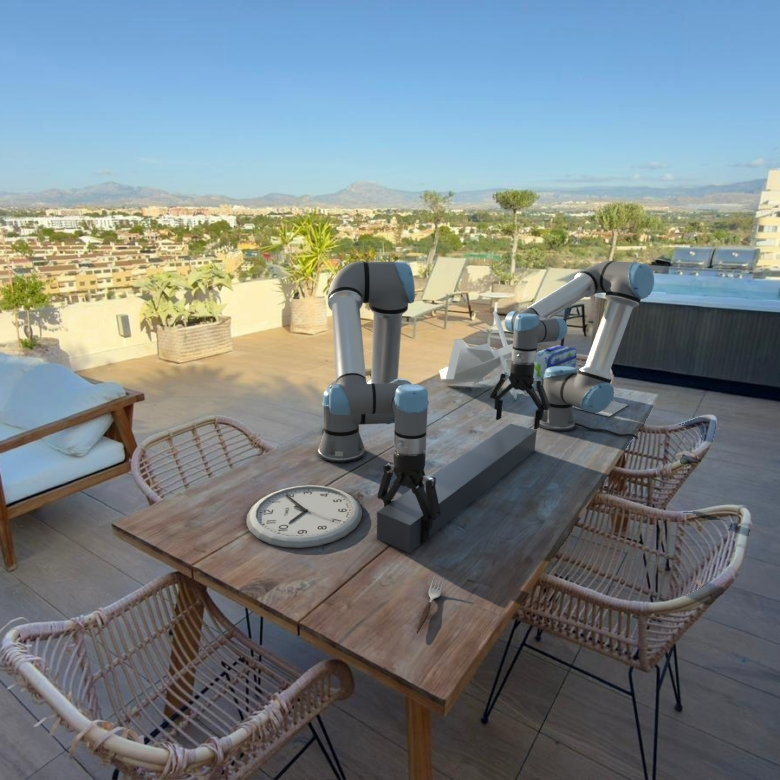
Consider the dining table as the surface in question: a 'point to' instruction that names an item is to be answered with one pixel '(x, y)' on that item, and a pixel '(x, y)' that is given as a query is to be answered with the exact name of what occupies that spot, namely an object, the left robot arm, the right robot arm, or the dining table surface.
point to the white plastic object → (477, 361)
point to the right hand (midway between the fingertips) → (517, 423)
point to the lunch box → (553, 360)
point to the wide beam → (456, 486)
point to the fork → (433, 594)
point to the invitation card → (610, 408)
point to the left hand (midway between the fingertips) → (407, 532)
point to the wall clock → (304, 516)
